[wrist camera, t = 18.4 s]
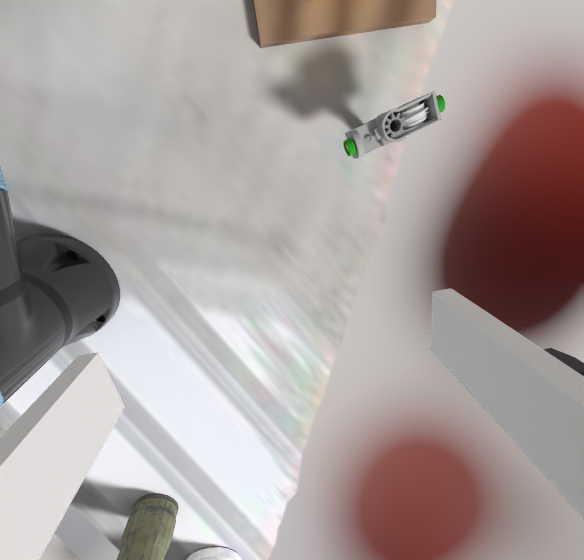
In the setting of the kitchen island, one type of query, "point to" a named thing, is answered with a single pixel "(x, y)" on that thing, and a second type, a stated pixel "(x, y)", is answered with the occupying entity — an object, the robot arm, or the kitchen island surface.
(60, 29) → the kitchen island surface
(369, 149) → the mechanical component
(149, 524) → the thermos
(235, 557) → the bottle
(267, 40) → the wooden base with rod
